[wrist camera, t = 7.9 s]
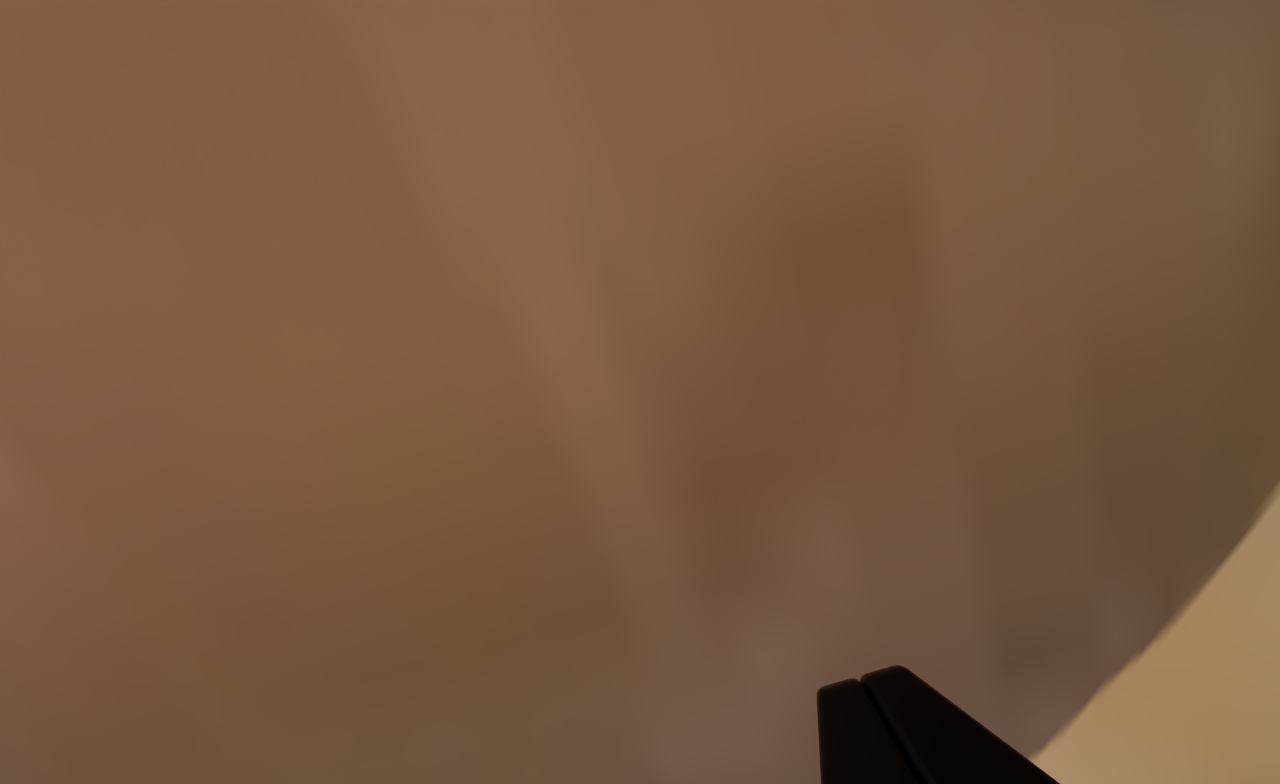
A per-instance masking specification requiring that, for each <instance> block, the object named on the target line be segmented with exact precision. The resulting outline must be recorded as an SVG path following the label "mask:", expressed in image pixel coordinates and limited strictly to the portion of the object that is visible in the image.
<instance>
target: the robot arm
mask: <svg viewBox="0 0 1280 784" xmlns="http://www.w3.org/2000/svg"><path fill="white" fill-rule="evenodd" d="M817 712H818V731H819V751H820V771H821V784H1060V783H1058V782H1057V781H1056V780H1054V779H1053V778H1052V777H1050V776H1049V775H1048V774H1046V773H1045V772H1044V771H1042V770H1041V769H1040V768H1038V767H1037V766H1036V765H1034V764H1033V763H1032V762H1030V761H1029V760H1028V759H1026V758H1025V757H1024V756H1022V755H1021V754H1020V753H1018V752H1017V751H1016V750H1015V749H1013V748H1012V747H1011V746H1009V745H1008V744H1007V743H1005V742H1004V741H1003V740H1001V739H1000V738H999V737H997V736H996V735H995V734H993V733H992V732H991V731H989V730H988V729H987V728H985V727H984V726H983V725H981V724H980V723H979V722H977V721H976V720H975V719H973V718H972V717H971V716H969V715H968V714H967V713H965V712H964V711H963V710H961V709H960V708H959V707H957V706H956V705H955V704H953V703H952V702H951V701H949V700H948V699H947V698H945V697H944V696H943V695H942V694H940V693H939V692H938V691H936V690H935V689H934V688H932V687H931V686H930V685H928V684H927V683H926V682H924V681H923V680H922V679H920V678H919V677H918V676H916V675H915V674H914V673H912V672H911V671H910V670H908V669H907V668H905V667H903V666H899V665H895V666H890V667H887V668H884V669H880V670H877V671H874V672H870V673H867V674H865V675H863V676H862V677H861V679H860V682H859V681H858V680H857V679H854V678H852V679H847V680H844V681H840V682H837V683H833V684H830V685H827V686H823V687H821V688H820V689H819V690H818V692H817Z"/></svg>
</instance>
